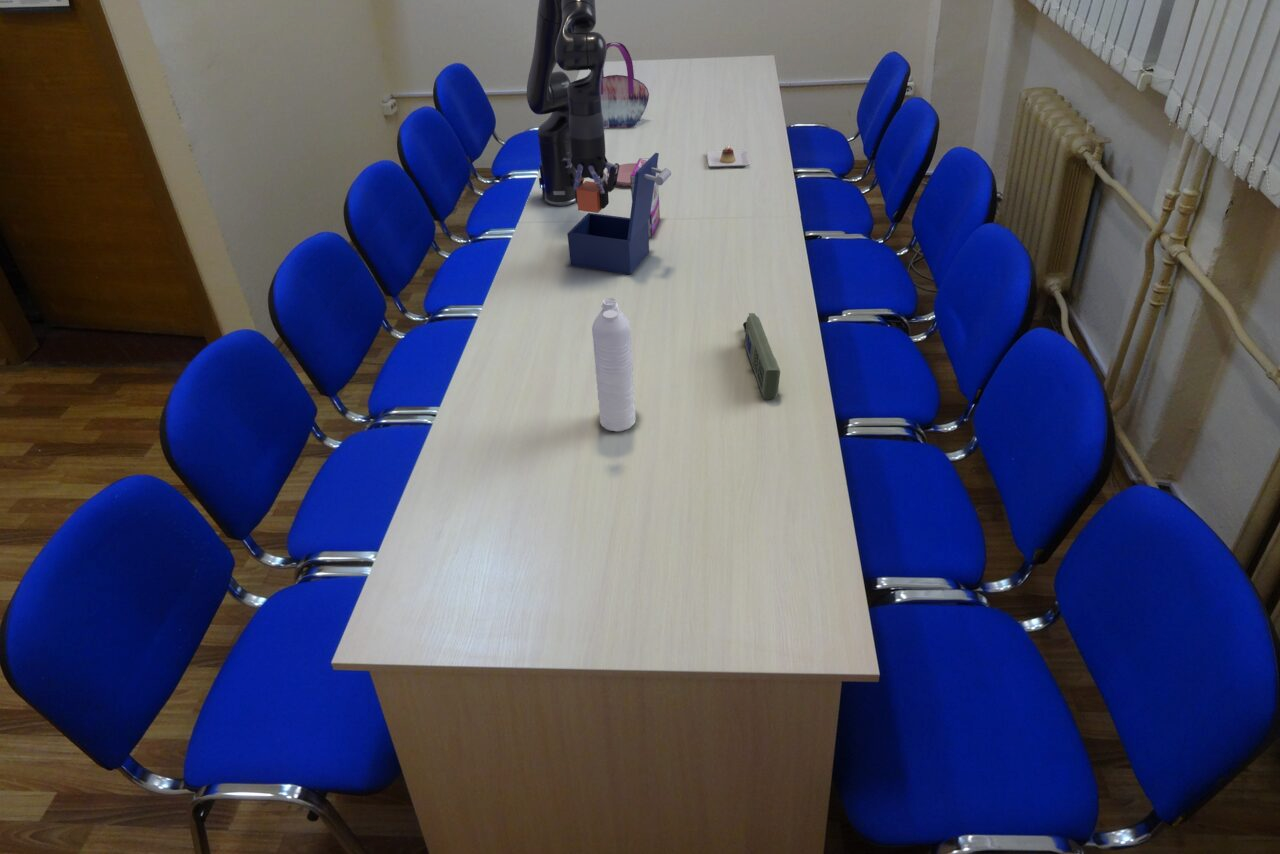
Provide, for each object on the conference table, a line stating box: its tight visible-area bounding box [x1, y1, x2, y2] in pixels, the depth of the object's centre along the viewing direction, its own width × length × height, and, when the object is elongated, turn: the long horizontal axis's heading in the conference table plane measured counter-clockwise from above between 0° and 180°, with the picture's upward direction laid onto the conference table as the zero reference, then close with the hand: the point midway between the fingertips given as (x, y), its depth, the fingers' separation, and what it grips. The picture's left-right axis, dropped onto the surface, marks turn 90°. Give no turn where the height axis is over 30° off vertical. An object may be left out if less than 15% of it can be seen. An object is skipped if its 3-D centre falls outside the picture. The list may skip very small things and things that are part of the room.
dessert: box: [706, 144, 751, 168], centre depth 251 cm, size 12×12×5 cm
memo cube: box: [576, 180, 602, 214], centre depth 194 cm, size 5×5×5 cm
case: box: [566, 212, 650, 275], centre depth 204 cm, size 16×12×8 cm
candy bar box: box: [630, 157, 661, 239], centre depth 214 cm, size 11×5×16 cm, turn 168°
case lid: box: [628, 152, 672, 240], centre depth 193 cm, size 16×12×5 cm
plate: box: [606, 162, 637, 187], centre depth 244 cm, size 14×14×2 cm
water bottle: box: [591, 297, 636, 432], centre depth 147 cm, size 9×6×25 cm
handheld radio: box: [742, 312, 781, 401], centre depth 167 cm, size 7×3×25 cm
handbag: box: [601, 41, 650, 129], centre depth 276 cm, size 21×10×25 cm, turn 85°
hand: (592, 205), depth 195 cm, fingers closed on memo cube, 5 cm apart
